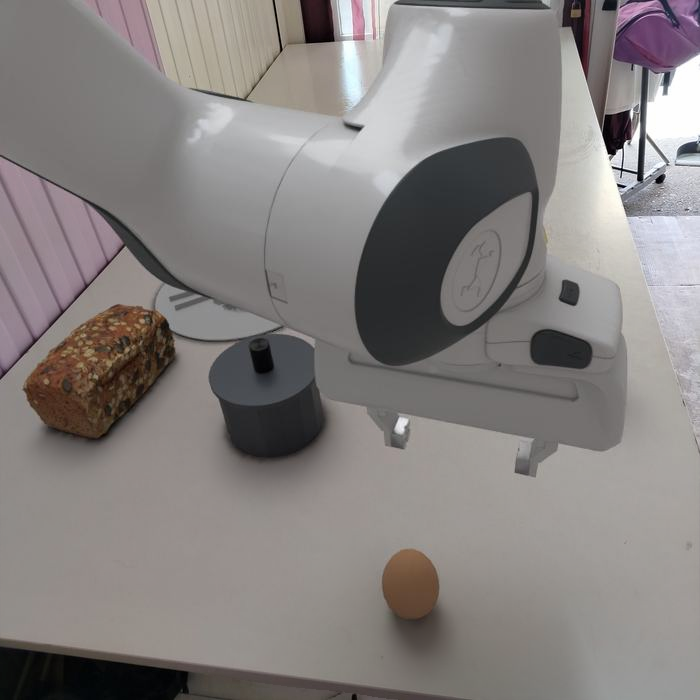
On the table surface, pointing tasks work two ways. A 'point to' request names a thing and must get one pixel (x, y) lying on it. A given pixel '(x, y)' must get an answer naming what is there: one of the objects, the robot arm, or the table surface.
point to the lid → (263, 371)
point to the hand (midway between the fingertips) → (460, 454)
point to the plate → (208, 317)
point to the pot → (275, 425)
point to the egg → (410, 584)
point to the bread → (100, 370)
